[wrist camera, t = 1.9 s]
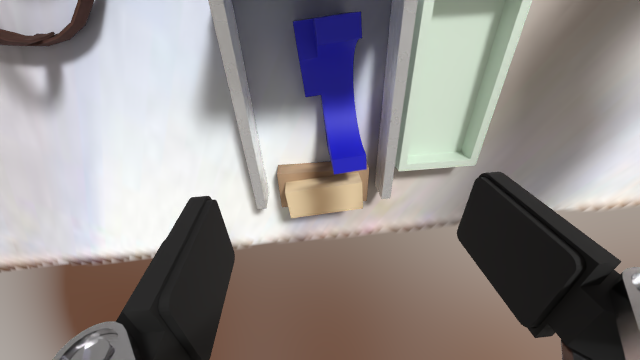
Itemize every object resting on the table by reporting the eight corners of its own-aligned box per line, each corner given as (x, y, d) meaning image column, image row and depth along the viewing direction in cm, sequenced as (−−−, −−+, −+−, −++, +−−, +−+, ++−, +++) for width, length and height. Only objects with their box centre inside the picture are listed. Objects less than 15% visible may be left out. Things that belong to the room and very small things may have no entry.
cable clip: (293, 21, 21) (292, 22, 16) (346, 12, 21) (360, 11, 16) (314, 147, 28) (317, 176, 23) (354, 141, 28) (366, 169, 23)
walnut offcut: (364, 157, 29) (369, 168, 27) (361, 188, 32) (366, 200, 30) (278, 163, 29) (277, 174, 27) (282, 194, 31) (282, 207, 29)
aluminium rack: (407, -34, 20) (489, -71, 11) (382, 183, 31) (414, 245, 23) (213, -25, 19) (148, -58, 11) (260, 193, 30) (246, 260, 22)
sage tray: (518, -26, 20) (543, -31, 18) (462, 154, 30) (475, 165, 27) (414, -22, 20) (428, -26, 18) (391, 160, 29) (398, 171, 27)
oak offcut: (358, 172, 27) (362, 182, 26) (359, 197, 29) (362, 208, 28) (285, 182, 27) (285, 193, 26) (291, 206, 29) (291, 218, 28)
